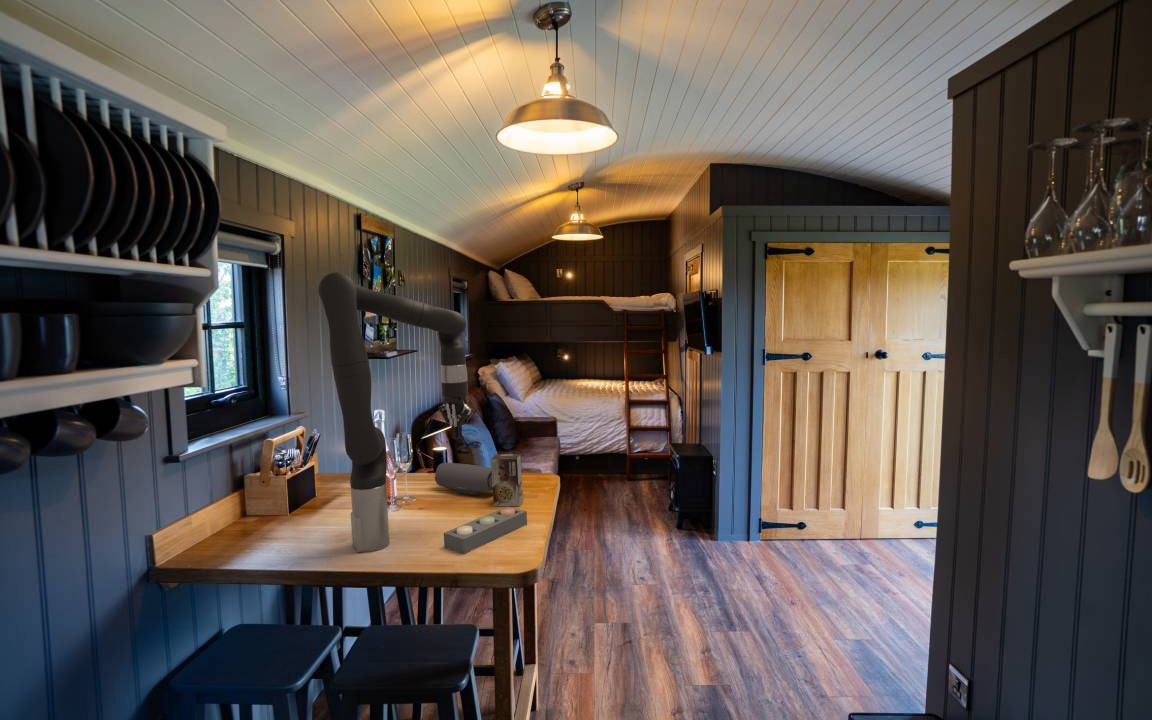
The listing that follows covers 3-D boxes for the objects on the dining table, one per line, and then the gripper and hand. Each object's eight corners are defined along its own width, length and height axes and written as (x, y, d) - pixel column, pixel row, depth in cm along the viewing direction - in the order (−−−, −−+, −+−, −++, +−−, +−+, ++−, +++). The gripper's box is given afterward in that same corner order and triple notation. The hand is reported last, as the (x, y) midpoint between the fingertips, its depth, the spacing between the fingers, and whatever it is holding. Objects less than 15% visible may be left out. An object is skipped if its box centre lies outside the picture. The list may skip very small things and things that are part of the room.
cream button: (464, 544, 153) (463, 532, 152) (454, 540, 155) (453, 529, 155) (475, 538, 156) (475, 527, 156) (465, 535, 158) (465, 524, 158)
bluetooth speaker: (502, 491, 202) (500, 464, 201) (486, 499, 194) (485, 471, 193) (451, 484, 212) (449, 458, 211) (434, 492, 204) (433, 465, 203)
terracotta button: (508, 524, 166) (507, 513, 166) (498, 521, 169) (497, 510, 168) (518, 519, 170) (517, 509, 169) (507, 517, 172) (507, 506, 172)
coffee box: (523, 500, 192) (521, 453, 191) (519, 506, 186) (517, 458, 184) (497, 500, 193) (495, 453, 192) (492, 506, 187) (490, 458, 185)
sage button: (487, 533, 159) (486, 522, 159) (476, 530, 162) (476, 519, 162) (497, 528, 163) (497, 518, 162) (487, 525, 165) (487, 515, 165)
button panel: (464, 553, 150) (463, 539, 150) (444, 547, 155) (443, 532, 155) (527, 524, 170) (526, 511, 170) (507, 518, 175) (507, 506, 174)
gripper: (479, 379, 164) (482, 438, 165) (449, 377, 172) (451, 433, 173) (459, 382, 158) (462, 443, 159) (429, 380, 166) (432, 438, 167)
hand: (457, 438), depth 166 cm, fingers closed
